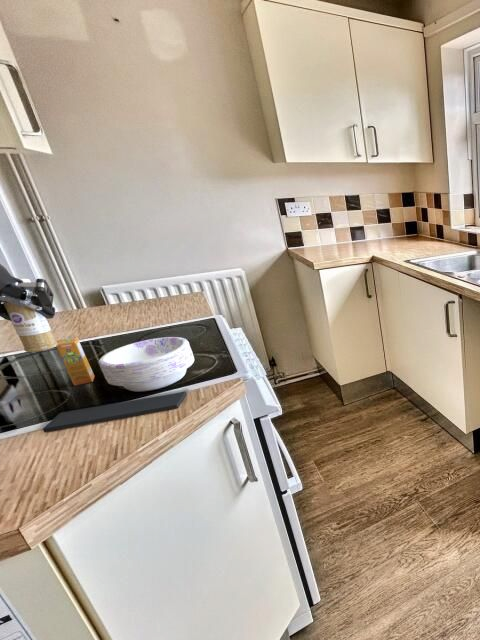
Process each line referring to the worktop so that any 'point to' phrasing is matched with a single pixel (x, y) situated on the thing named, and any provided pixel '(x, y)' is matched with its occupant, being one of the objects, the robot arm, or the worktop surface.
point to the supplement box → (75, 361)
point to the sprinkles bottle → (31, 327)
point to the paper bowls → (148, 363)
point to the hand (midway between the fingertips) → (34, 316)
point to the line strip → (115, 411)
